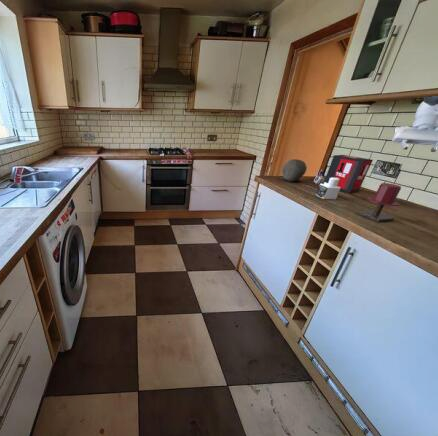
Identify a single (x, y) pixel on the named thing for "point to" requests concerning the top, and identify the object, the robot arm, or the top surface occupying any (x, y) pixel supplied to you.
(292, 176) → the grey stone ball
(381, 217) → the hat stand
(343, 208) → the top surface
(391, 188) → the hat
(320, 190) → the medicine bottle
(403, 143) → the robot arm
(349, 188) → the cleaning product box
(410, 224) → the top surface
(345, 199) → the top surface
